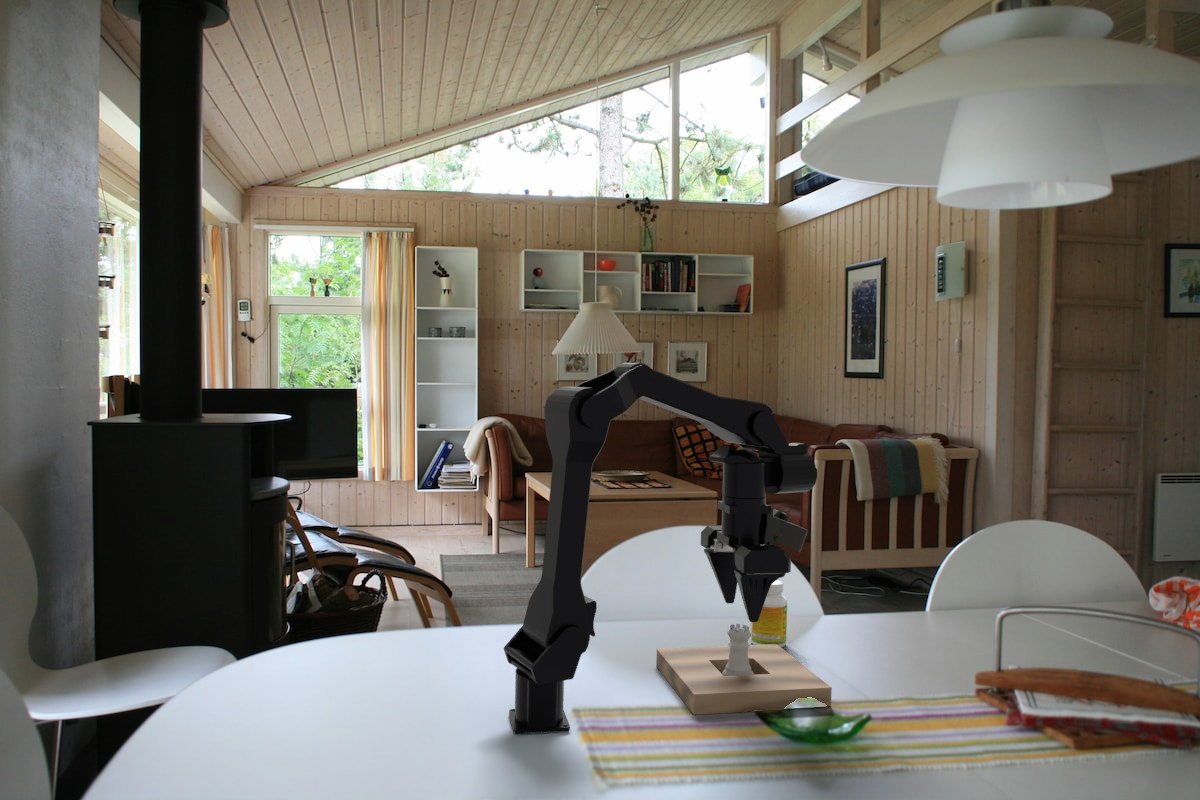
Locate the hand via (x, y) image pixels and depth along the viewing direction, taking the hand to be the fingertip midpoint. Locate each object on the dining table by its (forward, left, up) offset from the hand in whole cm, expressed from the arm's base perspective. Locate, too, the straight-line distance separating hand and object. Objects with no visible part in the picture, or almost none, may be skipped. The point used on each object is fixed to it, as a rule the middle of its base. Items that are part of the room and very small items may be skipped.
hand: (741, 612), depth 119 cm
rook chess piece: (0, 0, -10) cm, 10 cm away
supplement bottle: (+17, -11, -10) cm, 23 cm away
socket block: (0, 0, -10) cm, 10 cm away
